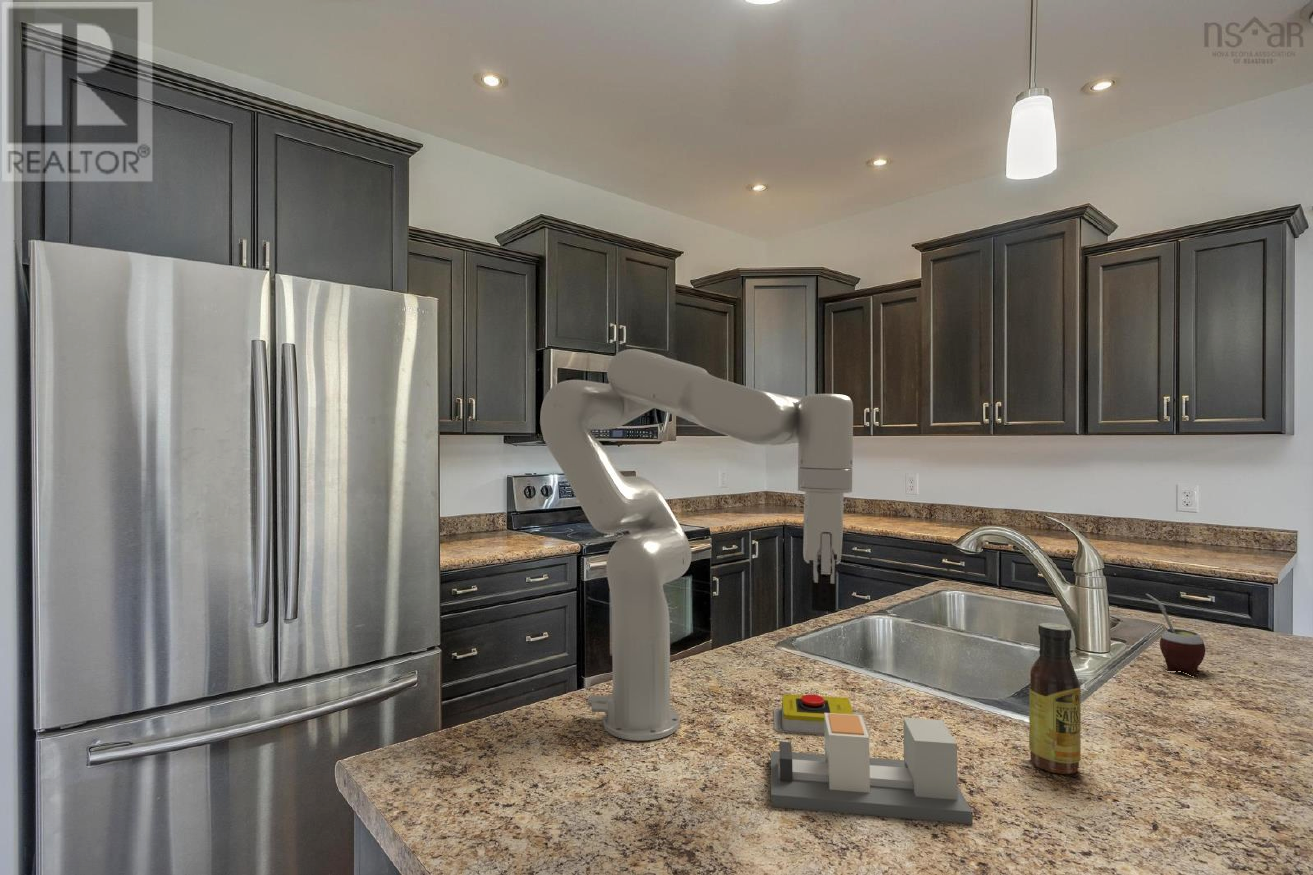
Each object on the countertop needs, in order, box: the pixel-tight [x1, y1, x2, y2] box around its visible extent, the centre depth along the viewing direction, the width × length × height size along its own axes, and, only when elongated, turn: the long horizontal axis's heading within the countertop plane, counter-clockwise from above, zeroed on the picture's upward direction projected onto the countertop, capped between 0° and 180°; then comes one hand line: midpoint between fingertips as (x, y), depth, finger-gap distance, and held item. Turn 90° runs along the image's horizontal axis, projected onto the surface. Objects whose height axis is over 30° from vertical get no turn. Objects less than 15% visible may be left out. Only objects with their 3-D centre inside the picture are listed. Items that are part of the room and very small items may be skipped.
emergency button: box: [773, 693, 871, 737], centre depth 107 cm, size 9×4×15 cm
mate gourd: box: [1145, 593, 1206, 678], centre depth 129 cm, size 8×8×15 cm
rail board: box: [770, 717, 974, 825], centre depth 86 cm, size 24×12×8 cm, turn 80°
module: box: [824, 713, 870, 793], centre depth 86 cm, size 5×7×7 cm
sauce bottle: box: [1028, 622, 1082, 775], centre depth 92 cm, size 6×6×20 cm
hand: (823, 609), depth 91 cm, fingers closed
